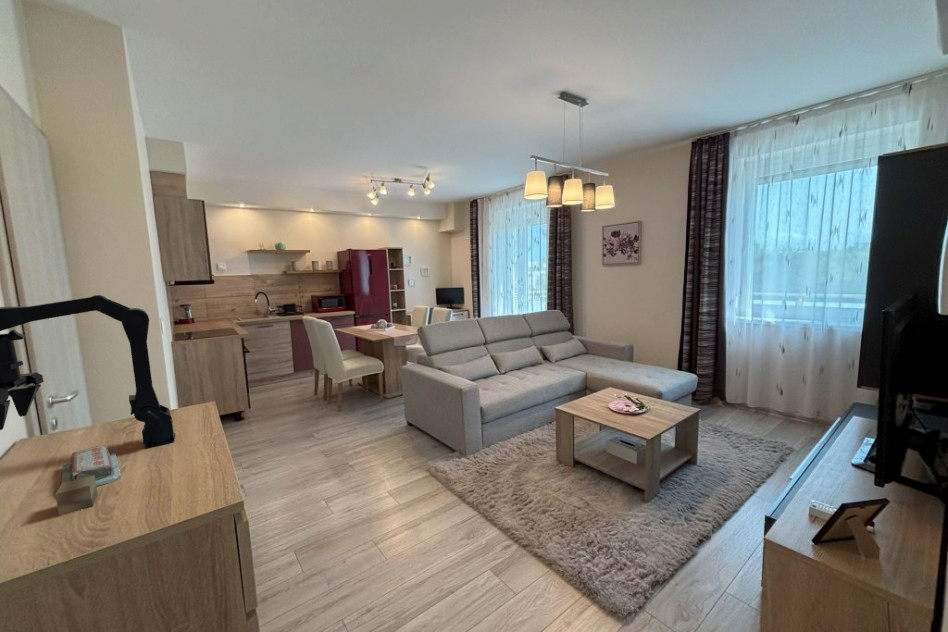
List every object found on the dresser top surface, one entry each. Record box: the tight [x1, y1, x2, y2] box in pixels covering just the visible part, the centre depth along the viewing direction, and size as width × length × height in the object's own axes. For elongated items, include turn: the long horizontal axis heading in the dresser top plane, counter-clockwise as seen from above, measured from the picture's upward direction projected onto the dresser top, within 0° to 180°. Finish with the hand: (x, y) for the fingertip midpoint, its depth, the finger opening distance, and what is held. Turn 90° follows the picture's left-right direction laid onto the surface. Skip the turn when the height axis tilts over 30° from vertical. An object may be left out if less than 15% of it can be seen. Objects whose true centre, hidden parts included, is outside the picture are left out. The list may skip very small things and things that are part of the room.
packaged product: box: [61, 445, 122, 488], centre depth 93 cm, size 18×5×10 cm
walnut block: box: [55, 475, 99, 517], centre depth 81 cm, size 5×5×5 cm
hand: (11, 422), depth 91 cm, fingers open, 9 cm apart
